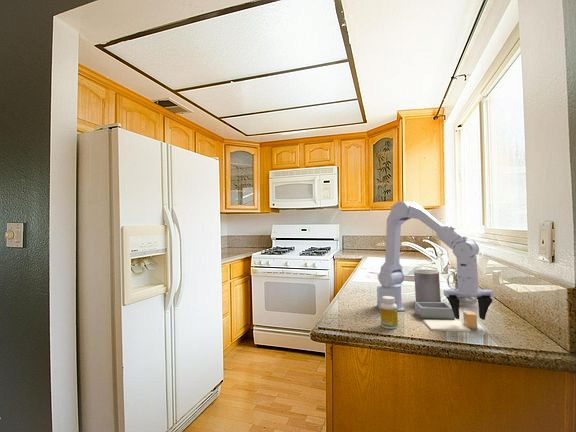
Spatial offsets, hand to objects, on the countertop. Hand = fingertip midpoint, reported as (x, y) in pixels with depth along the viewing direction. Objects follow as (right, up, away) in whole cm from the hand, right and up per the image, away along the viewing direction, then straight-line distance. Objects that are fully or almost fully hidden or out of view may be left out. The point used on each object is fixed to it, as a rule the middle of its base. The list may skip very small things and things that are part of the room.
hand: (469, 318), depth 93 cm
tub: (-6, -3, +12) cm, 13 cm away
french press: (+15, -3, +27) cm, 31 cm away
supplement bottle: (-25, -4, +3) cm, 26 cm away
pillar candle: (0, -4, +28) cm, 28 cm away
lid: (-6, -3, +1) cm, 6 cm away
